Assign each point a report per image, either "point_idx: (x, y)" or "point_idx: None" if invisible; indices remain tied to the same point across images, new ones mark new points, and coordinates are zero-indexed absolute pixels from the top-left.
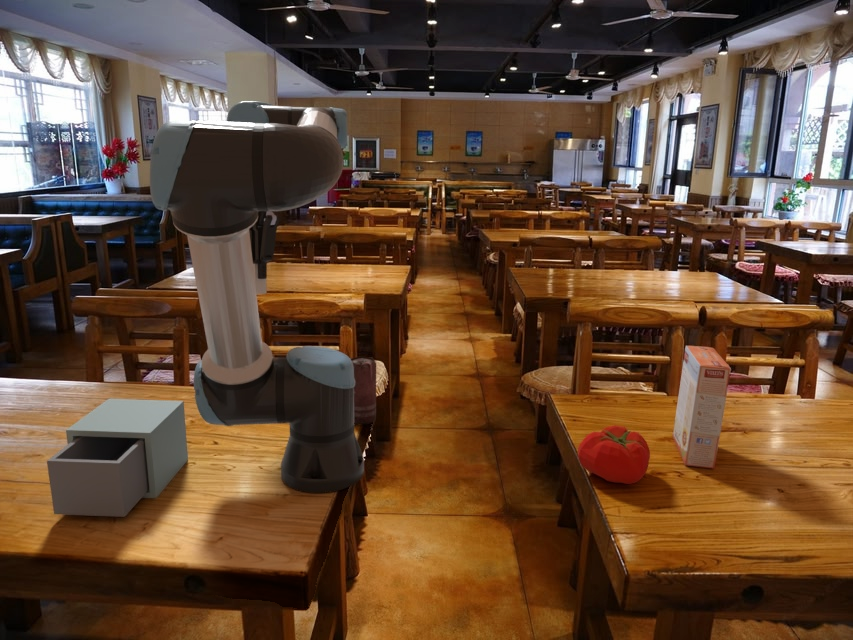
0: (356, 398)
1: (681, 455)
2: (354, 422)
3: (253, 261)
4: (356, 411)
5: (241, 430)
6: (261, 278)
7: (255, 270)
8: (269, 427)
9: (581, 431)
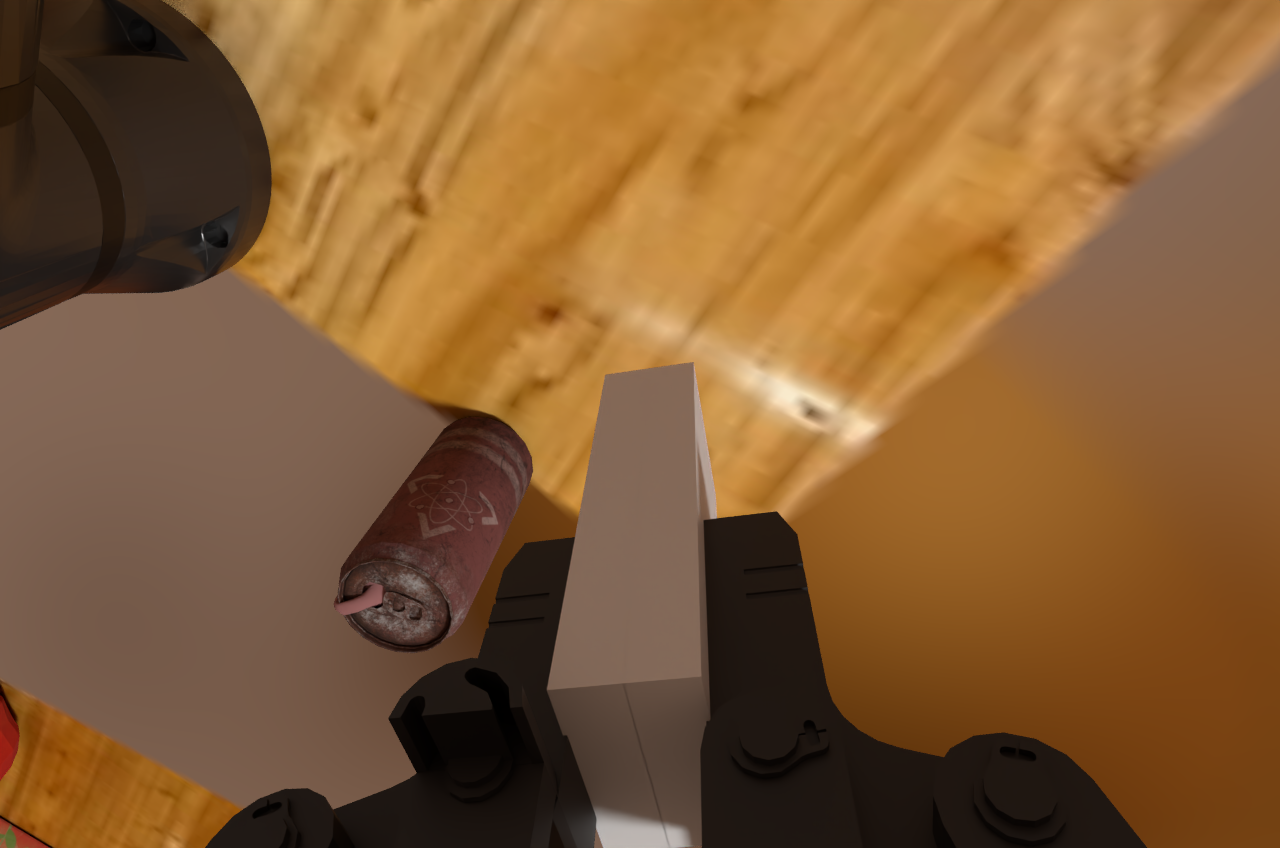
0: (413, 473)
1: (20, 835)
2: (458, 420)
3: (463, 696)
4: (435, 445)
5: (615, 3)
6: (527, 561)
7: (571, 595)
8: (584, 132)
9: (194, 802)
